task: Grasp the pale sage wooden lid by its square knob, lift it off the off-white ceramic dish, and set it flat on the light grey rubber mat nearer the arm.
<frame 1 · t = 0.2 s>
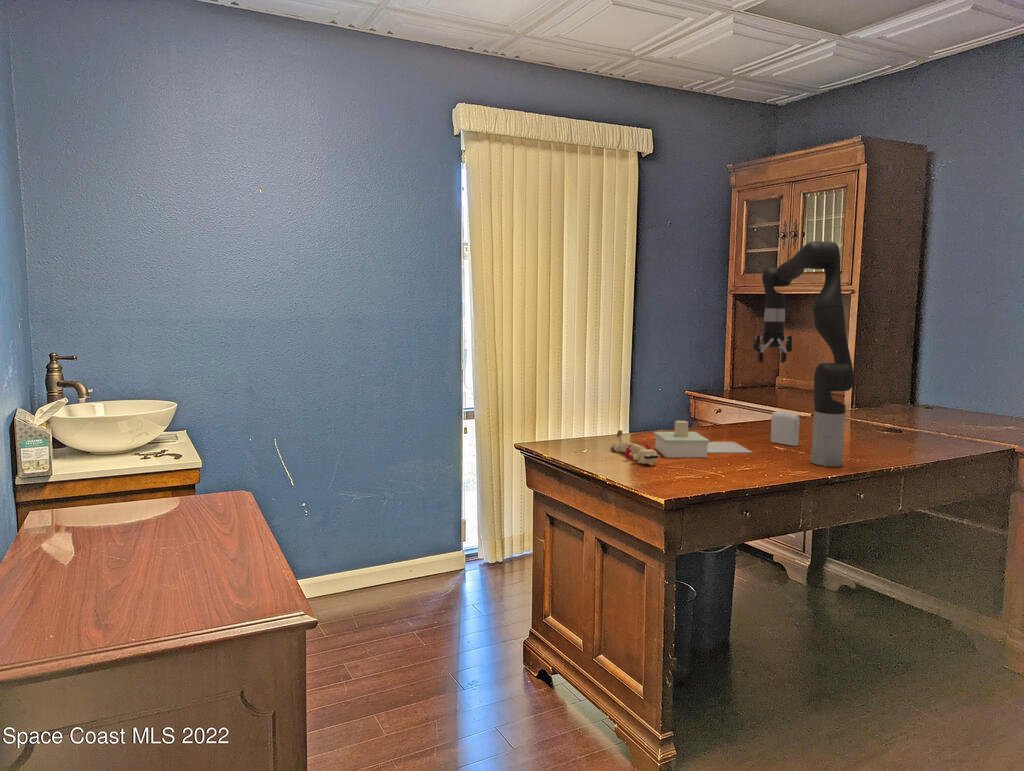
hand: (771, 362, 273), 29 cm above the table, fingers open, 8 cm apart
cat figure: (634, 459, 237), on the table
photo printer: (783, 444, 264), on the table
lid: (680, 438, 245), point 5 cm above the table, touching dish
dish: (680, 452, 246), on the table
mat: (719, 447, 255), on the table
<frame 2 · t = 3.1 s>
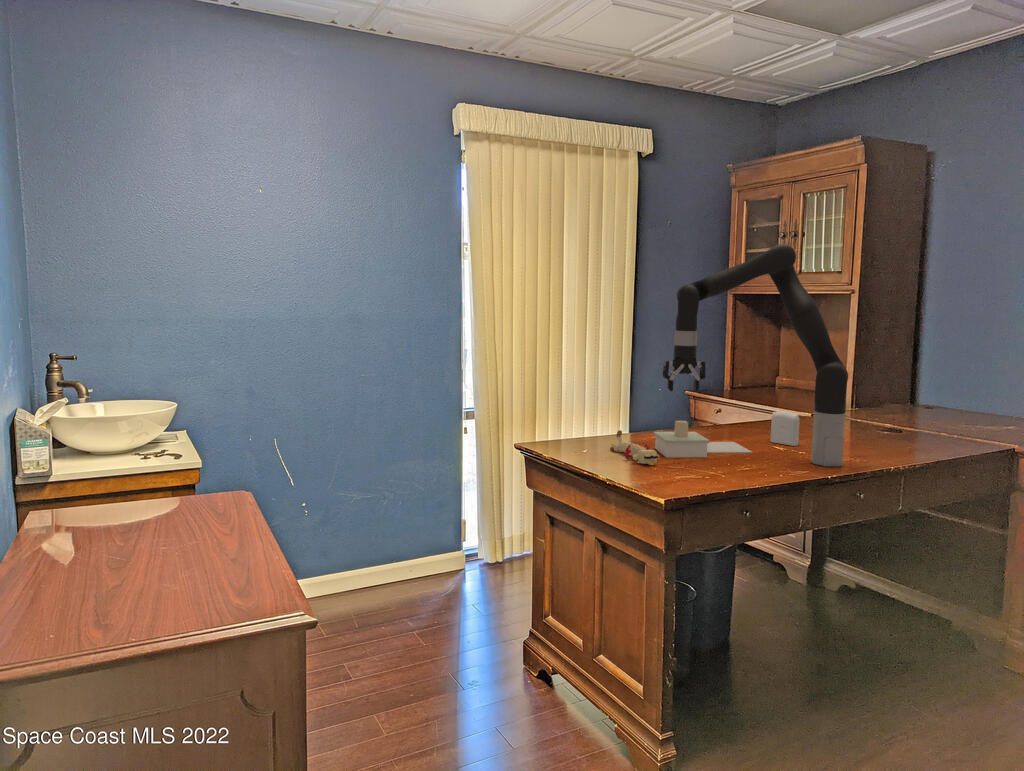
hand: (683, 391, 243), 22 cm above the table, fingers open, 8 cm apart
nothing on the table moved.
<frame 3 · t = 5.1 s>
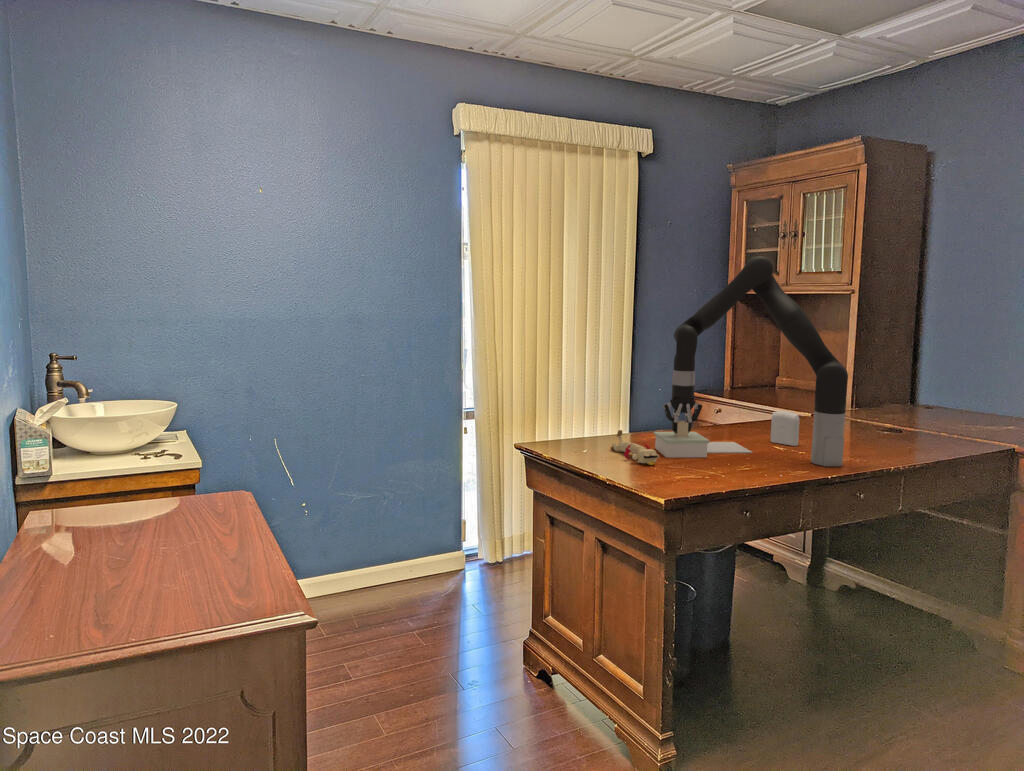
hand: (681, 432, 245), 7 cm above the table, fingers closed on lid, 3 cm apart
lid: (680, 438, 245), point 5 cm above the table, touching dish, gripper
everything else where it was.
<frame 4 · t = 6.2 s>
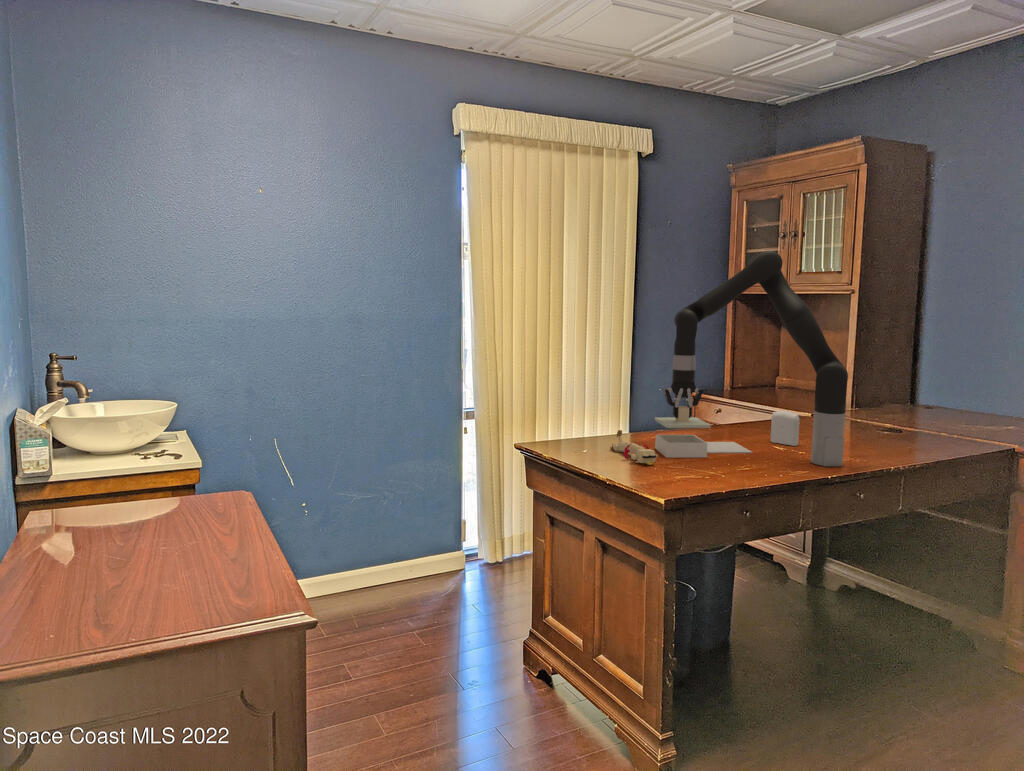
hand: (682, 417, 244), 12 cm above the table, fingers closed on lid, 3 cm apart
lid: (681, 423, 244), point 10 cm above the table, touching gripper
everything else where it was.
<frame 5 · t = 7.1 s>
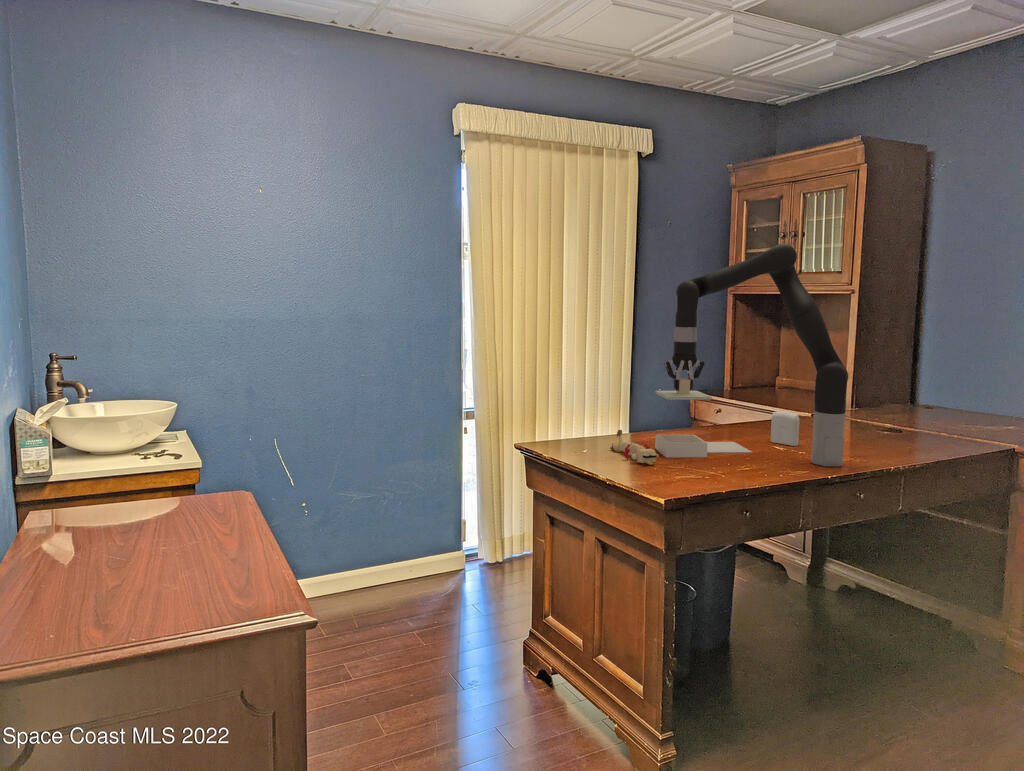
hand: (683, 390, 243), 22 cm above the table, fingers closed on lid, 3 cm apart
lid: (682, 396, 243), point 20 cm above the table, touching gripper
everything else where it was.
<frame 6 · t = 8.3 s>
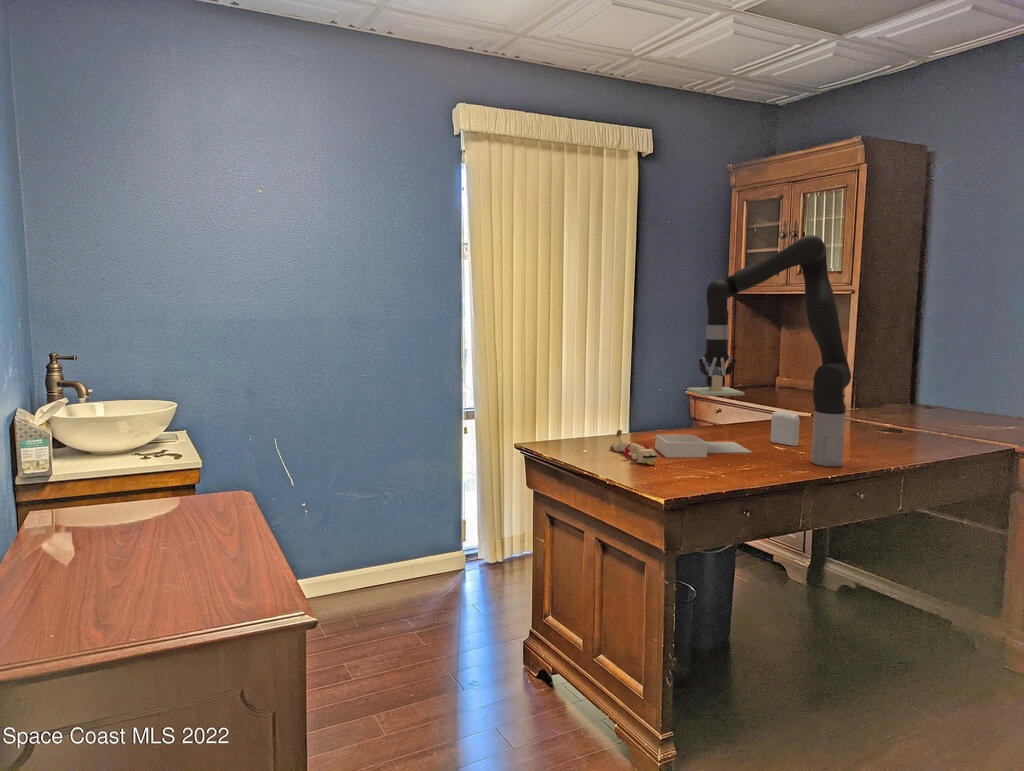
hand: (715, 386, 249), 23 cm above the table, fingers closed on lid, 3 cm apart
lid: (715, 392, 250), point 20 cm above the table, touching gripper
everything else where it was.
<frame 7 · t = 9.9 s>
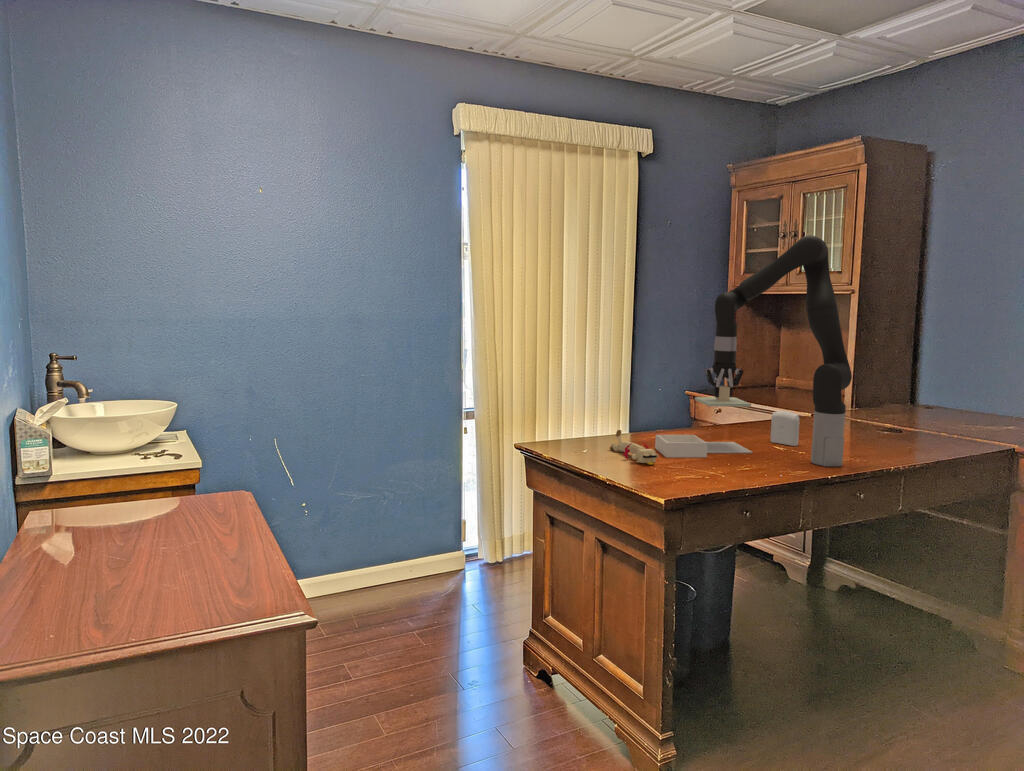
hand: (722, 397, 252), 18 cm above the table, fingers closed on lid, 3 cm apart
lid: (722, 403, 253), point 16 cm above the table, touching gripper
everything else where it was.
when the fingers open (4 cm above the table, at t = 13.1 s): lid drops 2 cm, resting on mat.
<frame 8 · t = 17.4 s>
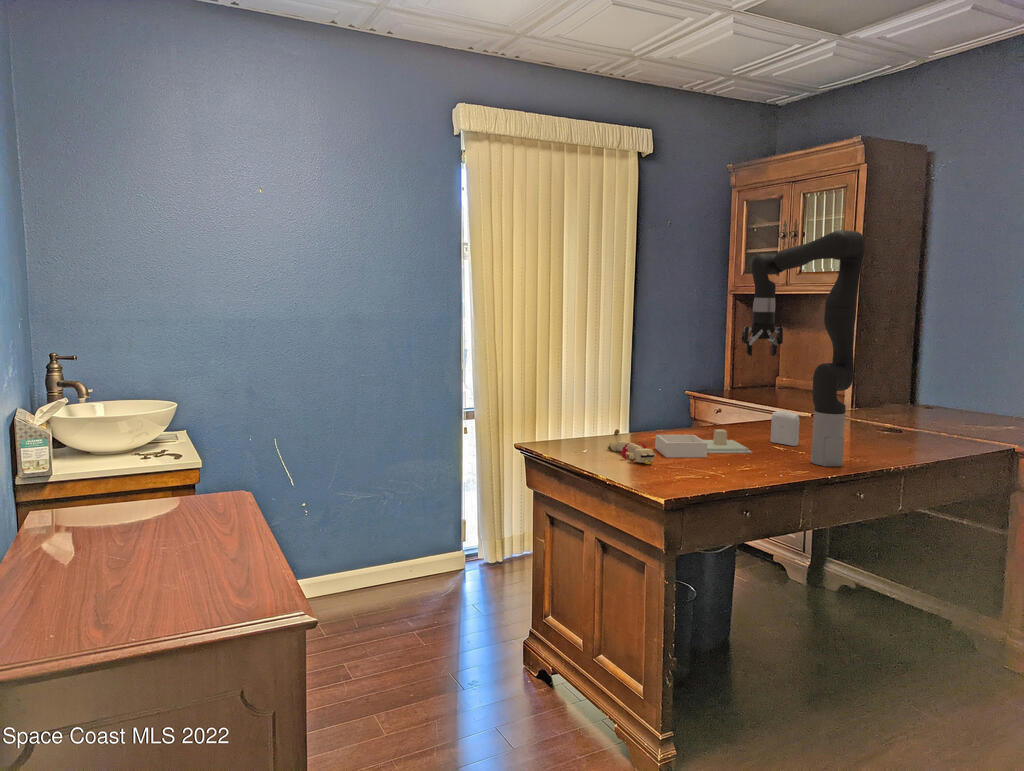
hand: (761, 355, 256), 33 cm above the table, fingers open, 8 cm apart
lid: (719, 446, 255), resting on mat
at the end: lid inside the target area on the mat (0.0 cm from its centre), point 0.4 cm above the mat's base; lid tilted 0°; the gripper is holding nothing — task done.
